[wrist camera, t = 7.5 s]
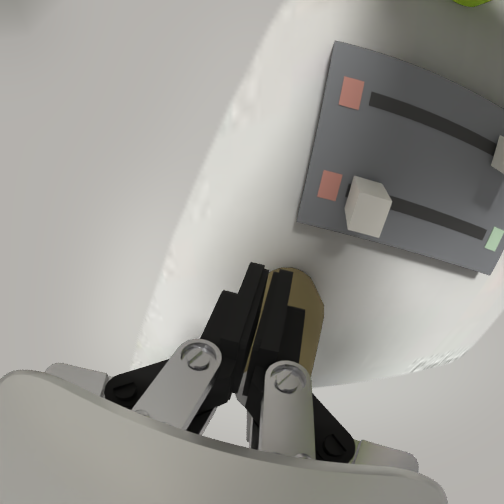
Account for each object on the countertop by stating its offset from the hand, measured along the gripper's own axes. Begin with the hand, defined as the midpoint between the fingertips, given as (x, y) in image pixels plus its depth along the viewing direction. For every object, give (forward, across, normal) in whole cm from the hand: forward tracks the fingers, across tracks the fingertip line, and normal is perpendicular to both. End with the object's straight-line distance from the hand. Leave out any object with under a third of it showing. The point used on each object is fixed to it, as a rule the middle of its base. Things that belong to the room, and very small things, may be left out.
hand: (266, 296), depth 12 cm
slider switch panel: (+17, -12, -4) cm, 21 cm away
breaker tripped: (+15, -6, 0) cm, 16 cm away
